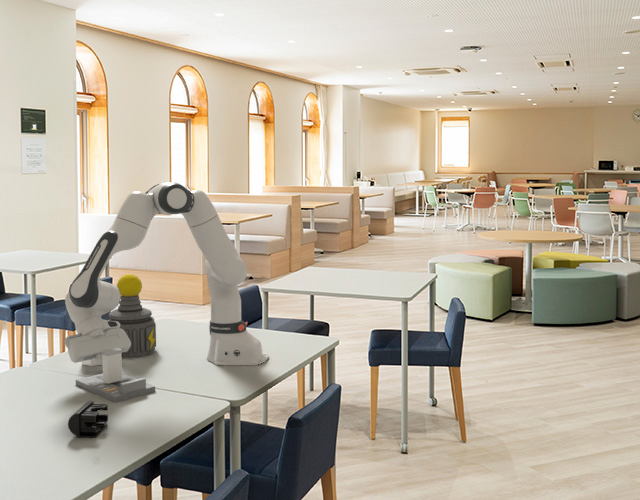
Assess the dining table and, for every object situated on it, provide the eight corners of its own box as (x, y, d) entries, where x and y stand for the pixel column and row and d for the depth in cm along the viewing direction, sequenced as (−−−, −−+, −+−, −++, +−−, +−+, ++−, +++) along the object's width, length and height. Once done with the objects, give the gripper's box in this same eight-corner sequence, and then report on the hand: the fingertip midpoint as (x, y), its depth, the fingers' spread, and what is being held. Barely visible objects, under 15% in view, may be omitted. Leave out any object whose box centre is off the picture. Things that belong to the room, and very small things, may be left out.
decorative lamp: (94, 355, 252) (91, 276, 248) (126, 343, 269) (123, 269, 266) (137, 361, 245) (134, 279, 242) (166, 348, 263) (164, 272, 259)
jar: (85, 367, 237) (83, 334, 236) (79, 362, 244) (77, 329, 242) (110, 363, 242) (109, 330, 240) (104, 358, 249) (103, 326, 247)
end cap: (83, 424, 185) (82, 400, 184) (108, 424, 185) (108, 400, 184) (68, 438, 175) (67, 413, 174) (95, 439, 175) (94, 413, 174)
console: (75, 384, 218) (75, 370, 218) (114, 375, 228) (114, 361, 228) (115, 402, 202) (114, 387, 202) (155, 391, 212) (155, 377, 212)
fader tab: (102, 381, 215) (101, 351, 214) (117, 377, 219) (116, 347, 218) (107, 384, 213) (106, 353, 212) (123, 380, 217) (122, 349, 216)
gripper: (65, 331, 213) (81, 368, 208) (123, 321, 228) (140, 354, 222) (59, 342, 217) (75, 379, 211) (116, 331, 231) (133, 365, 226)
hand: (109, 366), depth 217 cm, fingers closed, pressing on fader tab
